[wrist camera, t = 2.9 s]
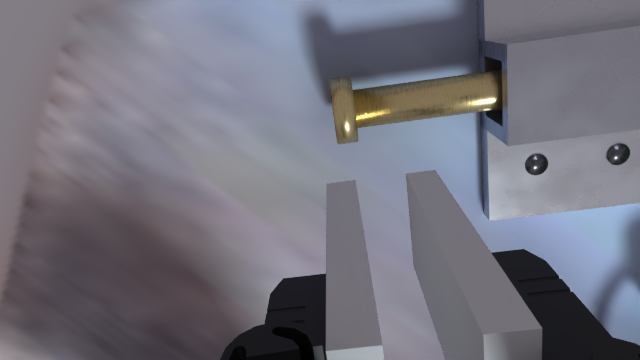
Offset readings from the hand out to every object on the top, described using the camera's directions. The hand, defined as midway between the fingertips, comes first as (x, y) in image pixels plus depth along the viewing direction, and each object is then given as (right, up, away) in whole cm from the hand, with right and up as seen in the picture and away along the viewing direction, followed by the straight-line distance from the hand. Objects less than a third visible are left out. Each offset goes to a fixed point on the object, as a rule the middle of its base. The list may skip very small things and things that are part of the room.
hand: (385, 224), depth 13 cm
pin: (+8, +7, +16) cm, 19 cm away
